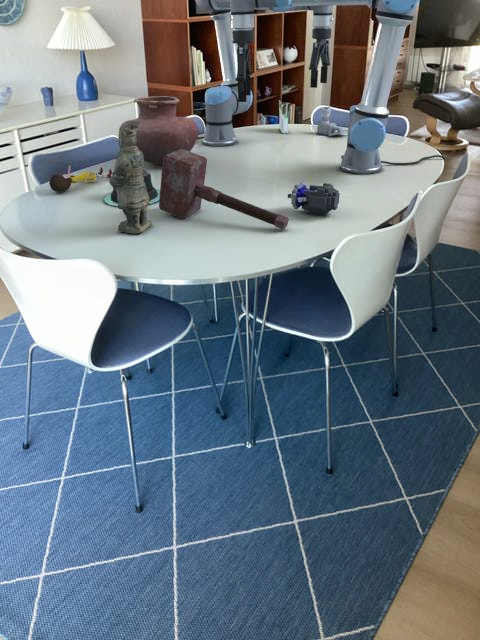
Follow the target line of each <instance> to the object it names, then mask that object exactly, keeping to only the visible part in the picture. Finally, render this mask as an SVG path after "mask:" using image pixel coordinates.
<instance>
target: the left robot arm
mask: <svg viewBox="0 0 480 640" xmlns="http://www.w3.org/2000/svg"><path fill="white" fill-rule="evenodd" d="M194 2H195V3H196V5H197V6H198V8H199V9H201V10H202V11H205V12H209V17H210V19H211V20H212V21H213V22H214V27H215V34H216V40H217V48H218V54H219V61H220V68H221V75H222V82H221V83H220V85H217V86H211V87H209V88H207V89H206V91H205V93H204V106H205V108H204V109H205V122H206V123H205V129H204V135H203V136H198V138H197V140H202V142H203V143H202V144H203V145H205V146H209V147H228V146H233V145H235V144H236V143H237V136H236V134H235V130H234V127H233V116H235V115H238V114H243V113H244V112H247V111H248V110H249V109H250V107H251V106H252V104H253V100H254V99H253V97H254V95H253V92H252V91H251V95H248V96H246V98H247V102H238V81H235V78H237V47H239V44H238V43H237V44H235V43H232V35H231V32H232V31H233V29H232V28H231V23H232V22H230V21H229V19H230V18H231V7H230V0H194ZM333 8H334V5H326V6H288V7H282V8H279V7H274V8H254V10H259V11H274V12H278V13H285V12H295V11H296V12H297V11H312V12H313V13H312V27H313V28H312V30H311V35H312V36H311V39H312V40H315V41H314V42H313V43H312V51H311V55H310V63H309V67H308V71H310V84H309V85H310V86H309V88H310V89H311V88H312V89H317V88H318V81H319V83H320V84H328V72H329V71H328V70H329V67H330V66H331V59H330V58H331V57H330V39H331V38H332V28H331V27H332V26H333V25H332V24H333V21H334V18H333ZM320 62H321V66H320V65H319V64H320ZM319 66H320V79H319V80H318V78H319V69H318V68H319Z"/></svg>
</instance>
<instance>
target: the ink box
mask: <svg viewBox="0 0 480 640" xmlns="http://www.w3.org/2000/svg"><path fill="white" fill-rule="evenodd" d="M278 109H279V112H278V113H279V119H278V121H279V122H278V123H279V124H278V130H279V132H281V134H289V118H288V117H287V115H286V114H285V113H283V104H282V101H281V100H280V99H278Z"/></svg>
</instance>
